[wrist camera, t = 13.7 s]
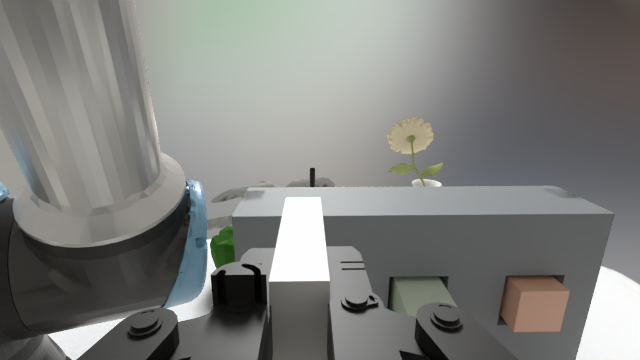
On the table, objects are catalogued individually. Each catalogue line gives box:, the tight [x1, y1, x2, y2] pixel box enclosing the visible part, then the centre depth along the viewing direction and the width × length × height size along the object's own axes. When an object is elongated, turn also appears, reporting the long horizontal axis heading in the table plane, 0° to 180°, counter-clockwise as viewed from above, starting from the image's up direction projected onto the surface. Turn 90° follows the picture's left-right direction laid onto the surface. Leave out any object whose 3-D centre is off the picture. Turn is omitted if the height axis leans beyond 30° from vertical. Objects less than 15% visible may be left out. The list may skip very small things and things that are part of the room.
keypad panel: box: [232, 186, 615, 360], centre depth 37 cm, size 34×8×20 cm, turn 91°
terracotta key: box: [499, 275, 570, 332], centre depth 35 cm, size 4×7×4 cm, turn 1°
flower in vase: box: [387, 118, 443, 187], centre depth 60 cm, size 13×11×25 cm
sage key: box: [388, 276, 457, 317], centre depth 32 cm, size 4×7×4 cm, turn 1°
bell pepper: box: [210, 226, 235, 269], centre depth 55 cm, size 8×8×10 cm
